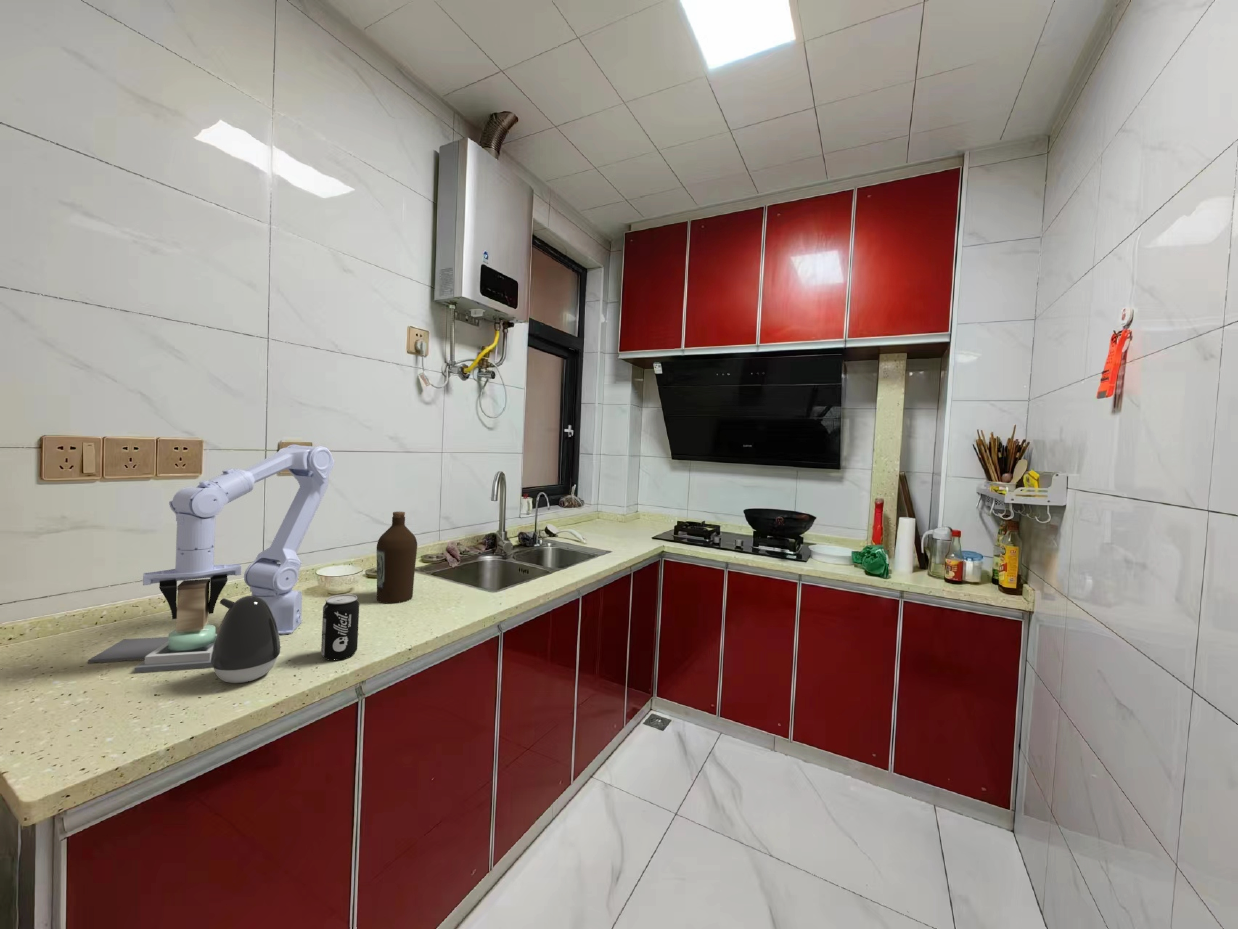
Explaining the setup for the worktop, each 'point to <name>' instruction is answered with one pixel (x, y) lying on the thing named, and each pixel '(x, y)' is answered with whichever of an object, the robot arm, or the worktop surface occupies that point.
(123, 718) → the worktop surface
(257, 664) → the pump dispenser
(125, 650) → the mat
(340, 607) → the beverage can
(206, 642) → the button
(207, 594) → the wooden rectangular block
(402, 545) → the olive oil
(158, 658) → the switch panel
